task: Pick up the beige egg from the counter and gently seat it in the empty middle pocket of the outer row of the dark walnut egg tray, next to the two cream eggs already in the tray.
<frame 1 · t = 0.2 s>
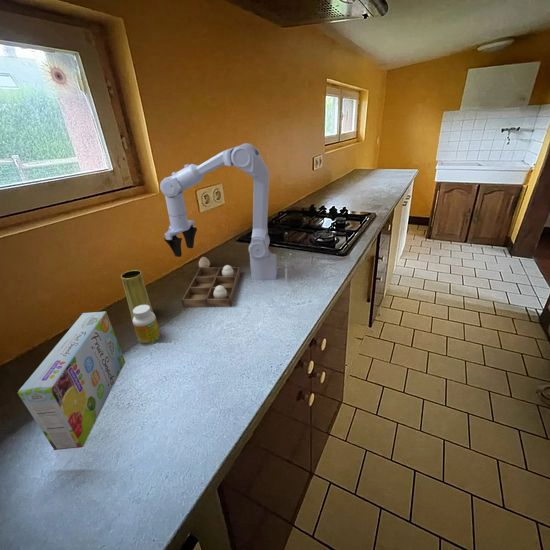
hand: (184, 251, 106), 10 cm above the worktop, fingers open, 7 cm apart
cream egg far: (228, 278, 106), point 1 cm above the worktop, touching egg tray
cream egg near: (221, 299, 94), point 1 cm above the worktop, touching egg tray
supplement bottle: (150, 340, 79), on the worktop
snack box: (95, 401, 62), on the worktop
beige egg: (205, 269, 115), on the worktop
vase: (143, 317, 88), on the worktop
egg tray: (214, 290, 101), on the worktop
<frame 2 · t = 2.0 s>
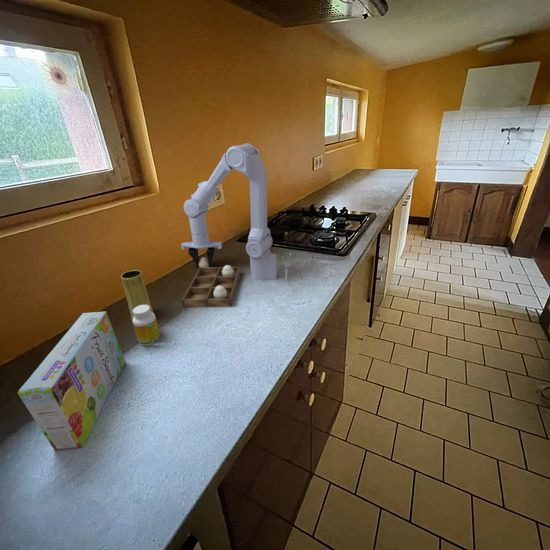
hand: (204, 265, 114), 1 cm above the worktop, fingers closed on beige egg, 4 cm apart
beige egg: (205, 269, 115), on the worktop, touching gripper
everything else where it was.
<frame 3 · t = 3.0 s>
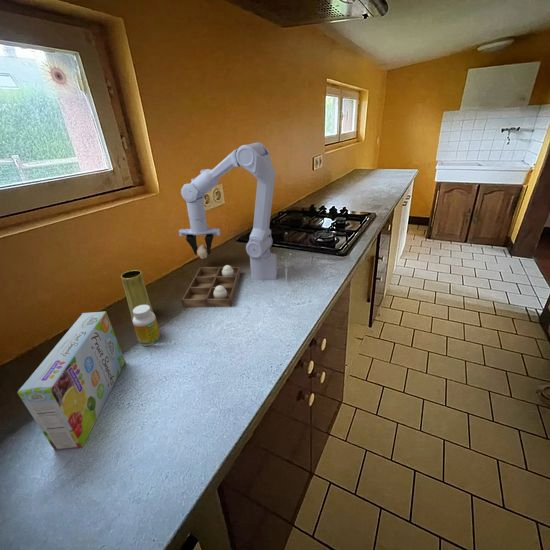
hand: (202, 253, 112), 7 cm above the worktop, fingers closed on beige egg, 4 cm apart
beige egg: (203, 257, 113), point 5 cm above the worktop, touching gripper
everything else where it was.
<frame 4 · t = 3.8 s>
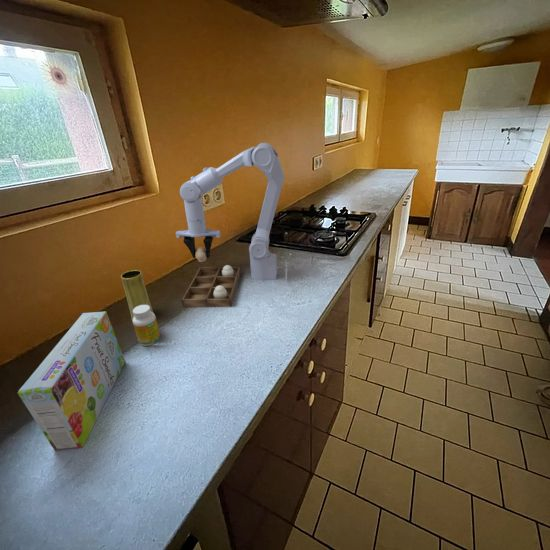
hand: (201, 256, 105), 8 cm above the worktop, fingers closed on beige egg, 4 cm apart
beige egg: (202, 260, 106), point 7 cm above the worktop, touching gripper
everything else where it was.
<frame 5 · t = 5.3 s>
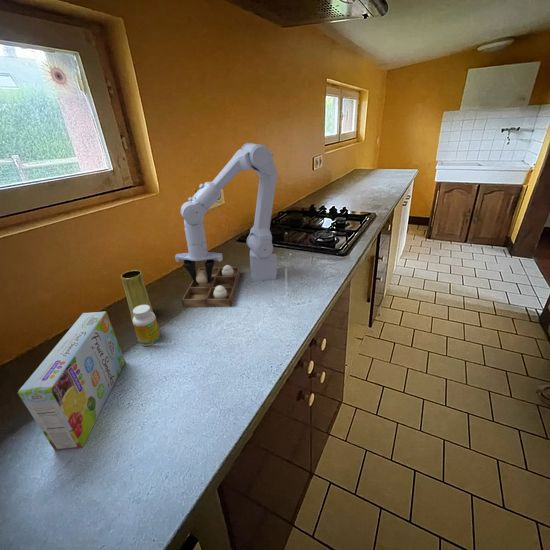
hand: (202, 280, 99), 4 cm above the worktop, fingers closed on beige egg, 4 cm apart
beige egg: (203, 284, 100), point 2 cm above the worktop, touching gripper
everything else where it was.
when the fingers open (4 cm above the worktop, at t = 6.0 s): beige egg drops 2 cm, resting on egg tray.
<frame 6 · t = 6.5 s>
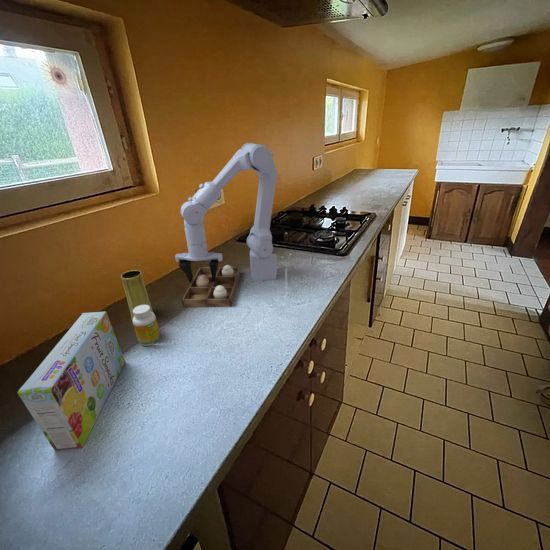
hand: (202, 280, 99), 4 cm above the worktop, fingers open, 7 cm apart
beige egg: (203, 288, 100), point 1 cm above the worktop, touching egg tray
everything else where it was.
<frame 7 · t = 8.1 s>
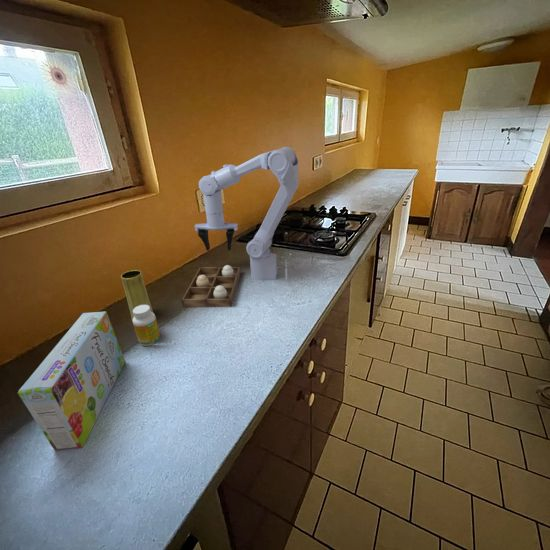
hand: (218, 249, 108), 9 cm above the worktop, fingers open, 7 cm apart
nothing on the worktop moved.
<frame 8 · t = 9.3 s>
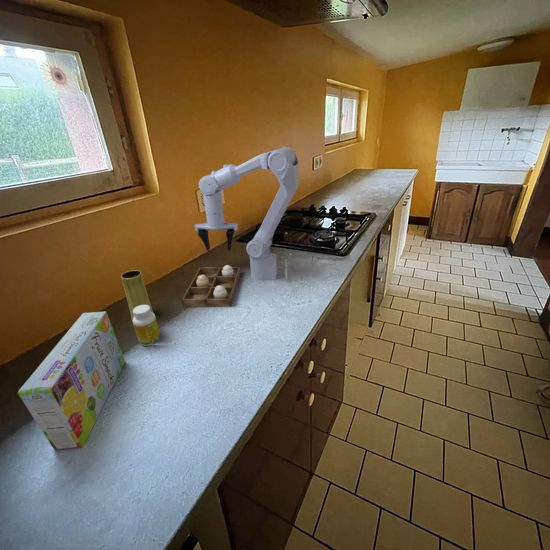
hand: (219, 249, 108), 9 cm above the worktop, fingers open, 7 cm apart
nothing on the worktop moved.
at the end: beige egg 0.1 cm from the target spot on the egg tray, point 0.8 cm above the egg tray's base; beige egg tilted 1°; the gripper is holding nothing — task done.
